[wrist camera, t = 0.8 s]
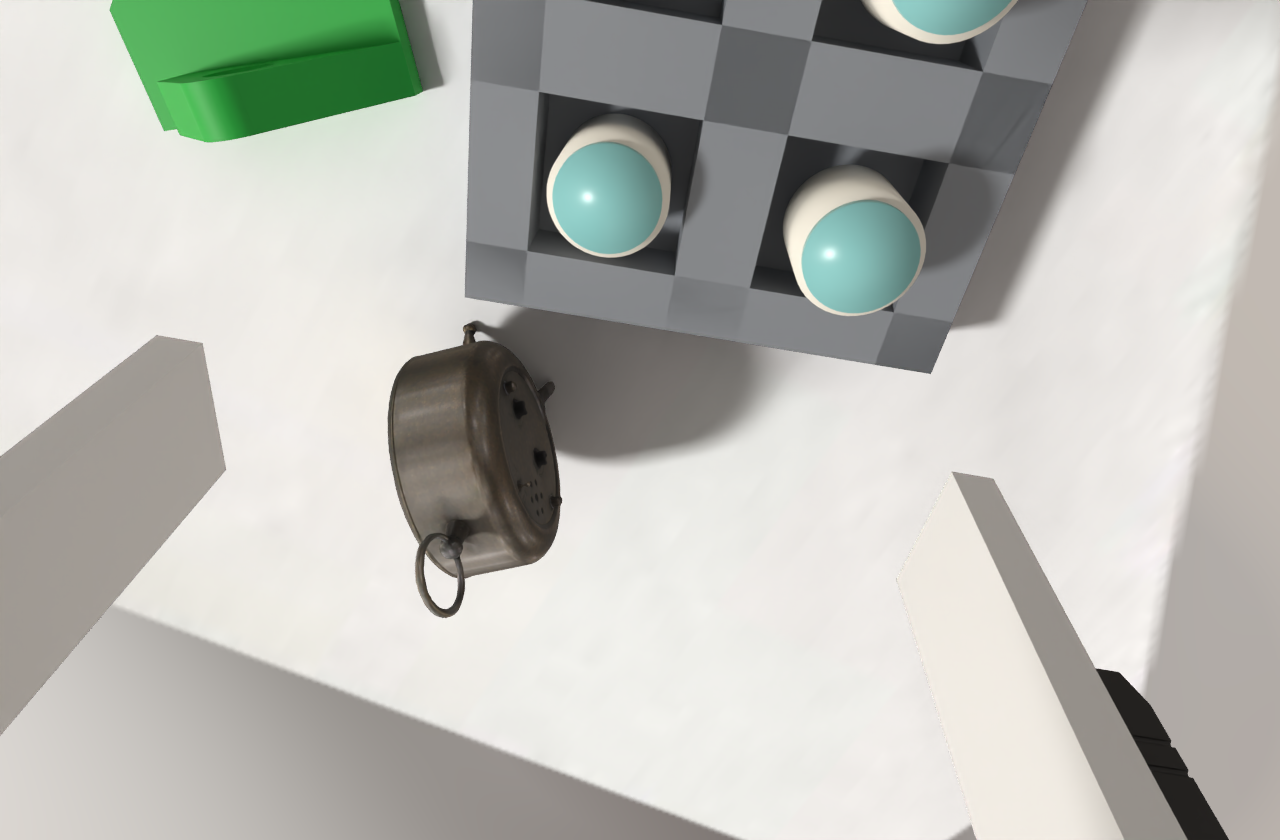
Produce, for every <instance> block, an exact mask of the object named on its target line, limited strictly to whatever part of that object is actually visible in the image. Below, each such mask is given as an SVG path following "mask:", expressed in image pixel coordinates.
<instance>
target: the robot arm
mask: <svg viewBox="0 0 1280 840" xmlns="http://www.w3.org/2000/svg"><path fill="white" fill-rule="evenodd" d="M225 470H226V467H225V461H224V456H223V450H222V445H221V440H220V434H219V429H218V424H217V418H216V413H215V408H214V402H213V397H212V391H211V386H210V381H209V375H208V370H207V365H206V359H205V354H204V349H203V343H199V342H193V341H187V340H181V339H175V338H170V337H164V336H158V335H156V336H155V337H154V338H153V339H151V340H150V341H149V342H147V343H146V344H145V345H143V346H142V347H141V348H140V349H138V350H137V351H136V352H134V353H133V354H132V355H131V356H129V357H128V358H127V359H125V360H124V361H123V362H122V363H120V364H119V365H118V366H116V367H115V368H114V369H113V370H111V371H110V372H109V373H107V374H106V375H105V376H104V377H102V378H101V379H100V380H98V381H97V382H96V383H94V384H93V385H92V386H91V387H89V388H88V389H87V390H85V391H84V392H83V393H82V394H80V395H79V396H78V397H76V398H75V399H74V400H73V401H71V402H70V403H69V404H67V405H66V406H65V407H64V408H62V409H61V410H60V411H58V412H57V413H56V414H55V415H53V416H52V417H51V418H49V419H48V420H47V421H46V422H44V423H43V424H42V425H40V426H39V427H38V428H36V429H35V430H34V431H33V432H31V433H30V434H29V435H27V436H26V437H25V438H24V439H22V440H21V441H20V442H18V443H17V444H16V445H15V446H13V447H12V448H11V449H9V450H8V451H7V452H6V453H4V454H3V455H2V456H0V736H1V734H2V733H3V732H4V731H5V730H6V728H7V727H8V726H9V725H10V724H11V723H12V721H13V720H14V719H15V718H16V717H17V715H18V714H19V713H20V712H21V711H22V710H23V708H24V707H25V706H26V705H27V704H28V702H29V701H30V700H31V699H32V698H33V697H34V695H35V694H36V693H37V692H38V691H39V690H40V688H41V687H42V686H43V685H44V684H45V682H46V681H47V680H48V679H49V678H50V677H51V675H52V674H53V673H54V672H55V671H56V670H57V668H58V667H59V666H60V665H61V664H62V662H63V661H64V660H65V659H66V658H67V657H68V655H69V654H70V653H71V652H72V651H73V649H74V648H75V647H76V646H77V645H78V644H79V642H80V641H81V640H82V639H83V638H84V637H85V635H86V634H87V633H88V632H89V631H90V629H91V628H92V627H93V626H94V625H95V624H96V622H97V621H98V620H99V619H100V618H101V616H102V615H103V614H104V613H105V612H106V610H107V609H108V608H109V607H110V606H111V605H112V604H113V602H114V601H115V600H116V599H117V598H118V596H119V595H120V594H121V593H122V592H123V591H124V589H125V588H126V587H127V586H128V585H129V583H130V582H131V581H132V580H133V579H134V578H135V576H136V575H137V574H138V573H139V572H140V571H141V569H142V568H143V567H144V566H145V565H146V563H147V562H148V561H149V560H150V559H151V558H152V556H153V555H154V554H155V553H156V552H157V550H158V549H159V548H160V547H161V546H162V545H163V543H164V542H165V541H166V540H167V539H168V538H169V536H170V535H171V534H172V533H173V532H174V530H175V529H176V528H177V527H178V526H179V525H180V523H181V522H182V521H183V520H184V519H185V517H186V516H187V515H188V514H189V513H190V512H191V510H192V509H193V508H194V507H195V506H196V505H197V503H198V502H199V501H200V500H201V499H202V497H203V496H204V495H205V494H206V493H207V492H208V490H209V489H210V488H211V487H212V486H213V484H214V483H215V482H216V481H217V480H218V479H219V477H220V476H221V475H222V474H223V473H224V471H225ZM896 581H897V584H898V587H899V590H900V594H901V597H902V600H903V603H904V607H905V610H906V613H907V616H908V620H909V623H910V626H911V629H912V633H913V636H914V639H915V642H916V645H917V649H918V652H919V655H920V658H921V662H922V665H923V668H924V671H925V675H926V678H927V681H928V684H929V688H930V691H931V694H932V697H933V701H934V704H935V707H936V710H937V714H938V717H939V720H940V723H941V727H942V730H943V733H944V736H945V739H946V743H947V746H948V749H949V752H950V756H951V759H952V762H953V765H954V769H955V772H956V775H957V778H958V782H959V785H960V788H961V791H962V795H963V798H964V801H965V804H966V808H967V811H968V814H969V817H970V820H971V824H972V827H973V830H974V833H975V837H976V840H1229V839H1228V837H1227V836H1226V834H1225V832H1224V830H1223V829H1222V827H1221V825H1220V824H1219V822H1218V820H1217V818H1216V817H1215V815H1214V813H1213V812H1212V810H1211V808H1210V806H1209V805H1208V803H1207V801H1206V800H1205V798H1204V796H1203V794H1202V793H1201V791H1200V789H1199V788H1198V786H1197V784H1196V782H1195V781H1194V779H1193V778H1190V777H1189V776H1188V769H1187V767H1186V765H1185V763H1184V762H1183V760H1182V758H1181V757H1180V755H1179V753H1178V752H1177V750H1176V748H1172V747H1171V745H1170V743H1171V740H1170V738H1169V736H1168V735H1167V733H1166V731H1165V729H1164V727H1163V726H1162V724H1161V722H1160V721H1159V719H1158V717H1157V715H1156V714H1155V712H1154V710H1153V709H1152V707H1151V705H1150V704H1149V703H1148V702H1147V701H1146V700H1145V699H1144V698H1143V697H1142V696H1141V695H1140V694H1139V693H1138V692H1137V691H1136V689H1135V688H1134V687H1133V686H1132V685H1131V684H1130V683H1129V682H1128V681H1127V680H1126V679H1125V678H1124V677H1123V676H1122V675H1121V674H1120V673H1119V672H1115V671H1108V670H1102V669H1096V668H1095V667H1094V665H1093V663H1092V661H1091V659H1090V658H1089V656H1088V654H1087V652H1086V650H1085V648H1084V646H1083V645H1082V643H1081V641H1080V639H1079V637H1078V635H1077V633H1076V632H1075V630H1074V628H1073V626H1072V624H1071V622H1070V620H1069V619H1068V617H1067V615H1066V613H1065V611H1064V609H1063V607H1062V605H1061V604H1060V602H1059V600H1058V598H1057V596H1056V594H1055V592H1054V591H1053V589H1052V587H1051V585H1050V583H1049V581H1048V579H1047V578H1046V576H1045V574H1044V572H1043V570H1042V568H1041V566H1040V565H1039V563H1038V561H1037V559H1036V557H1035V555H1034V553H1033V552H1032V550H1031V548H1030V546H1029V544H1028V542H1027V540H1026V539H1025V537H1024V535H1023V533H1022V531H1021V529H1020V527H1019V526H1018V524H1017V522H1016V520H1015V518H1014V516H1013V514H1012V513H1011V511H1010V509H1009V507H1008V505H1007V503H1006V501H1005V500H1004V498H1003V496H1002V494H1001V492H1000V490H999V488H998V487H997V485H996V483H995V481H994V479H992V478H986V477H980V476H974V475H969V474H963V473H957V472H951V474H950V476H949V478H948V480H947V482H946V484H945V485H944V487H943V489H942V491H941V493H940V495H939V497H938V499H937V501H936V503H935V505H934V507H933V509H932V511H931V513H930V515H929V517H928V519H927V521H926V523H925V525H924V527H923V528H922V530H921V532H920V534H919V536H918V538H917V540H916V542H915V544H914V546H913V548H912V550H911V552H910V554H909V556H908V558H907V560H906V562H905V564H904V566H903V568H902V569H901V571H900V573H899V575H898V577H897V579H896Z"/></svg>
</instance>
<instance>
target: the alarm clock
mask: <svg viewBox="0 0 1280 840" xmlns="http://www.w3.org/2000/svg"><path fill="white" fill-rule="evenodd" d="M463 331H464V333H465V337H464V341H463V345H462V346H458V347H454V348H450V349H446V350H442V351H438V352H433V353H429V354H425V355H421V356H416V357H413V358H411V359H410V360H409V361H407V362H406V363H405V364H404V365H403V367H402V368H401V369H400V371H399V373H398V374H397V376H396V378H395V381H394V384H393V387H392V391H391V395H390V401H389V410H388V444H389V454H390V460H391V466H392V471H393V476H394V481H395V486H396V490H397V494H398V498H399V501H400V504H401V507H402V509H403V512H404V515H405V518H406V520H407V522H408V524H409V526H410V528H411V530H412V532H413V534H414V536H415V538H416V540H417V541H418V543H419V548H418V551H417V555H416V562H415V574H416V584H417V587H418V591H419V593H420V596H421V598H422V600H423V602H424V604H425V605H426V607H427V608H428V609H429V610H430V611H431V612H432V613H433V614H434V615H436V616H438V617H442V618H447V617H450V616H453V615H454V614H455V613H456V612H457V611H458V610H459V608H460V605H461V603H462V600H463V596H464V591H465V579H464V578H468V577H471V576H474V575H479V574H484V573H489V572H494V571H499V570H504V569H509V568H514V567H519V566H524V565H528V564H532V563H534V562H537V561H538V560H539V559H541V558H542V557H543V556H544V555H545V554H546V553H547V551H548V550H549V548H550V547H551V545H552V543H553V541H554V539H555V536H556V533H557V529H558V523H559V516H560V505H561V503H562V498H561V497H560V480H559V471H558V463H557V458H556V452H555V447H554V442H553V438H552V434H551V430H550V427H549V423H548V420H547V417H546V414H545V406H544V403H545V402H546V400H547V399H548V397H549V396H550V395H551V394H552V393H553V391H554V389H555V386H554V384H553V382H548V383H547V384H546V385H545V386H544V387H543V388H542V389H540V390H539V391H537V390H536V388H535V385H534V383H533V381H532V379H531V378H530V376H529V374H528V372H527V371H526V369H525V368H524V366H523V365H522V364H521V362H520V361H519V360H518V359H517V357H516V356H515V355H514V354H513V353H512V352H511V351H509V350H508V349H507V348H505V347H504V346H502V345H499V344H497V343H494V342H491V341H479V342H475V339H474V336H473V335H474V334H475V332H476V329H475V326H474V325H472V324H467V325H465V326H464V327H463ZM425 554H426V555H427V556H428V558H429V559H430V560H431V561H432V562H433V563H434V564H435V565H436V566H437V567H438V568H439V569H441V570H442V571H443V572H445V573H446V574H448V575H450V576H452V577H455V578H458V591H457V597H456V600H455V602H454V604H453V606H452V607H450V608H449V609H442V608H439V607H438V606H437V605H436V604H435V603H434V602H433V601H432V599H431V597H430V595H429V593H428V591H427V586H426V582H425V577H424V557H425Z"/></svg>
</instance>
